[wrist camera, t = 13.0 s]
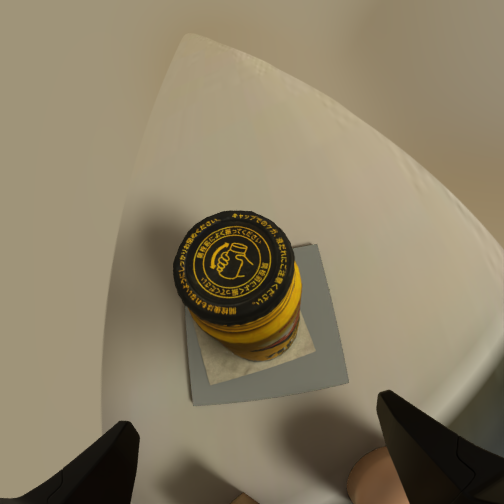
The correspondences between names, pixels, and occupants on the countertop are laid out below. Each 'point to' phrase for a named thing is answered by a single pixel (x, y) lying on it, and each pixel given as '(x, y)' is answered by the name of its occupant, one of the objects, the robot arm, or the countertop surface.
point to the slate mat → (289, 373)
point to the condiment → (242, 294)
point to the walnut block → (244, 500)
